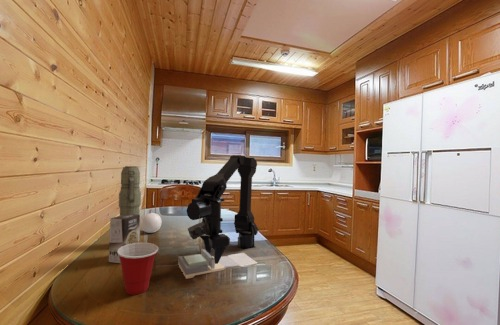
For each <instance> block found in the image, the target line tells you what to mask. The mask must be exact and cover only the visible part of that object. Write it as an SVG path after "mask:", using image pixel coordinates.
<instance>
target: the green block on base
mask: <svg viewBox="0 0 500 325" xmlns="http://www.w3.org/2000/svg"><path fill="white" fill-rule="evenodd" d="M197 254H198V253H197ZM190 255H191V256H186V255H184V256H185V257H184V261H185V262H186V264H187V265H188V267H195V266H200V265H206V264H207V265H208V266H210V267H211V268H215V259H214V258H213V257H214V256H213V255H211V253H210V254H209V253H208V252H207V251H206V250H205V247H204V248H201V250H200V253H199V254H198V255H193V254H190ZM212 256H213V257H212Z"/></svg>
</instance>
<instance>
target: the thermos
mask: <svg viewBox="0 0 500 325" xmlns="http://www.w3.org/2000/svg"><path fill="white" fill-rule="evenodd" d="M140 180H141V172H140V168H139V167H137V165H136V166H134V165H133V166H131V165H130V166H127V165H126V166H124V167H122V170H121V172H120V185H121V186H120V190H119V193H118V207H119V216H122V215H126V214H135V215H140V206H141V204H142V201H141V200H142V199H141V198H142V193H141V189H140V184H141V183H140ZM140 239H141V227H139V240H140ZM139 243H141V242H140V241H139Z"/></svg>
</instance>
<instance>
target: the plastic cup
mask: <svg viewBox="0 0 500 325" xmlns="http://www.w3.org/2000/svg"><path fill="white" fill-rule="evenodd" d="M158 252H159V246H158V245H156V243H151V242H140V243H132V244H127V245H125V246H122V247H120V248H119V249H118V251H117V253H118V255H119V257H120V262H121V263H120V264H121V272H122V278H123V283H124V288H125V293H126V294H127V295H132V296H133V295H134V296H135V295H140V294H143V293H145V292H146V291H147V290H148V289H149V285H150V280H151V277H152V271H153V266H154V262H155V258H156V256H157V253H158Z"/></svg>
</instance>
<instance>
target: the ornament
mask: <svg viewBox="0 0 500 325" xmlns="http://www.w3.org/2000/svg"><path fill="white" fill-rule="evenodd" d="M162 223H163V222H162V216H160V215H159V214H158V213H156V212H153V209H149V212H148V213H146V214H144V215H143V216H142V217H141V220H140V229H142V231H143V232H145V233H147V234H151V233H152V234H153V233H155V232H157V231H159V230H160V228H161V227H162Z"/></svg>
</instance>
